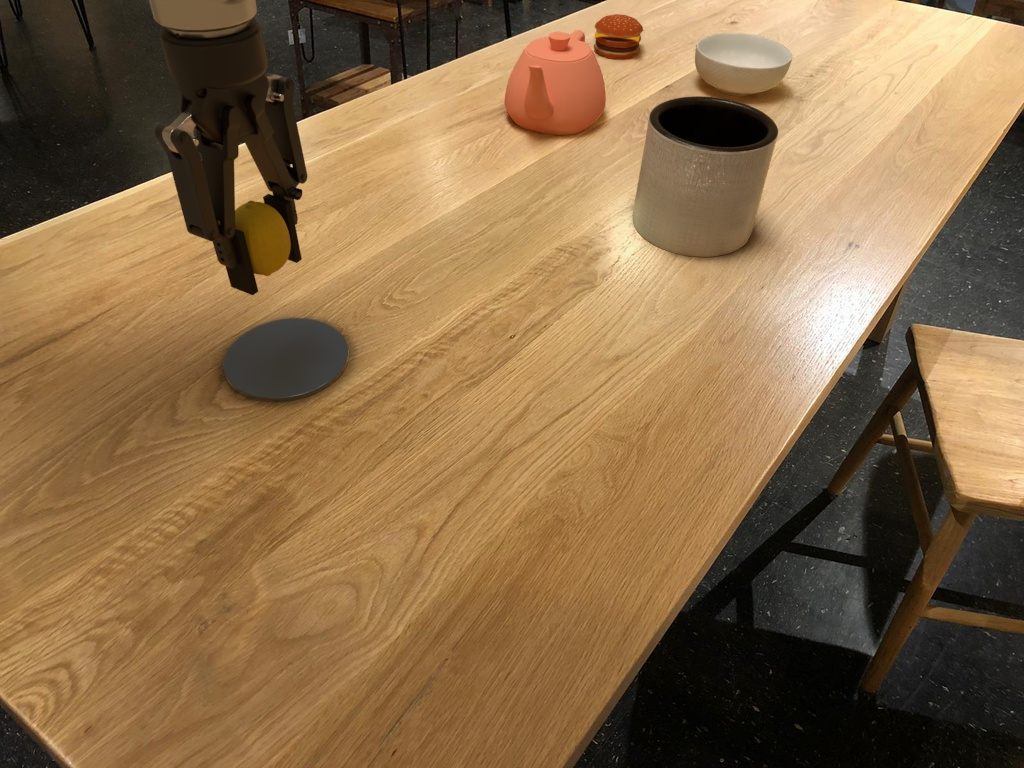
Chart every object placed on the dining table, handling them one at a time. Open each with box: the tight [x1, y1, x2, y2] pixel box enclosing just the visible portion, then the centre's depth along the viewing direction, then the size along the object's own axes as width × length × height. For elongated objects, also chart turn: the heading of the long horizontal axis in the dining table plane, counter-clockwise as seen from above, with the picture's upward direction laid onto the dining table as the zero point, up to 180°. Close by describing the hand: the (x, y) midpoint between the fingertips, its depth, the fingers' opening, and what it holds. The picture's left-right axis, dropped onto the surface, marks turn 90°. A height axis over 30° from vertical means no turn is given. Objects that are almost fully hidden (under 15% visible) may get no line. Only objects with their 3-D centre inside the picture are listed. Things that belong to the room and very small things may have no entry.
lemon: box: [235, 200, 291, 277], centre depth 72 cm, size 6×6×8 cm
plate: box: [222, 317, 350, 403], centre depth 82 cm, size 13×13×2 cm
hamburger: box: [593, 13, 644, 60], centre depth 151 cm, size 9×10×7 cm
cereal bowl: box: [694, 32, 793, 97], centre depth 139 cm, size 17×17×7 cm
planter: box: [632, 95, 779, 258], centre depth 99 cm, size 16×16×16 cm
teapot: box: [504, 30, 607, 136], centre depth 125 cm, size 25×17×13 cm
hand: (267, 272), depth 74 cm, fingers closed on lemon, 5 cm apart
